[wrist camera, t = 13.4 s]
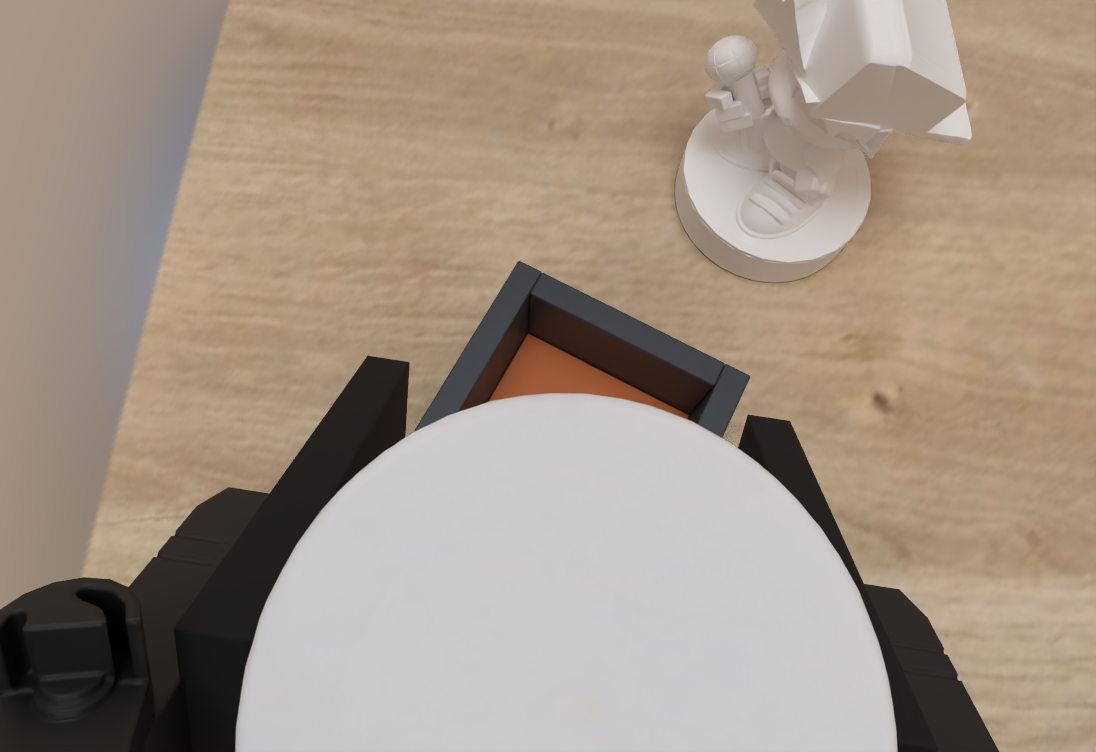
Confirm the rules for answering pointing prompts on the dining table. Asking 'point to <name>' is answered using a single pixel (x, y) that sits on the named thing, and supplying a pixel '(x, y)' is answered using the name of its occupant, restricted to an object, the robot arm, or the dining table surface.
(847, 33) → the character figurine
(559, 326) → the holder
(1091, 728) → the dining table surface
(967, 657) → the dining table surface
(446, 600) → the pill bottle
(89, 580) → the robot arm
